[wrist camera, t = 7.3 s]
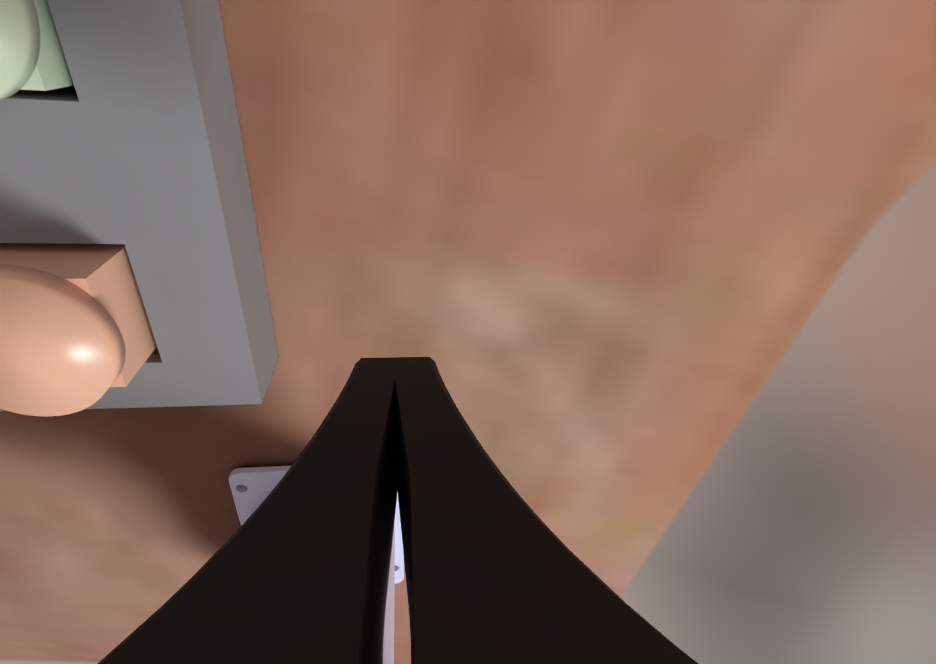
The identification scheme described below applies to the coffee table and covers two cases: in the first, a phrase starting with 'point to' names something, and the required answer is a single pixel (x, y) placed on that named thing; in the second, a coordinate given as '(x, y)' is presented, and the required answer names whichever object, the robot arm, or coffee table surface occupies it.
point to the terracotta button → (68, 326)
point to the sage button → (30, 49)
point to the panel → (150, 190)
